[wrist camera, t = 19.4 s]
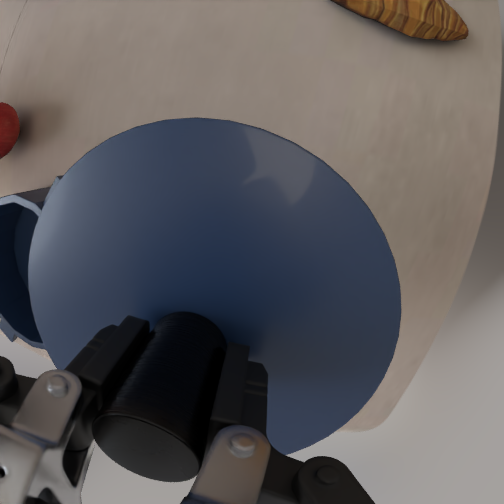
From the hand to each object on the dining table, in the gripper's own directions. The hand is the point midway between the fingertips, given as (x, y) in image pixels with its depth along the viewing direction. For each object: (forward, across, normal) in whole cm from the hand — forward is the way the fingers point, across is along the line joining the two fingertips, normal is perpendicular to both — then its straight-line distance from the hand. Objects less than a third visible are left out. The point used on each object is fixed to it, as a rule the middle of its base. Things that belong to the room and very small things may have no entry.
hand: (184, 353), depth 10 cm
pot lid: (+1, 0, 0) cm, 1 cm away
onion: (+16, +25, -7) cm, 30 cm away
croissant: (+15, -10, -24) cm, 30 cm away
